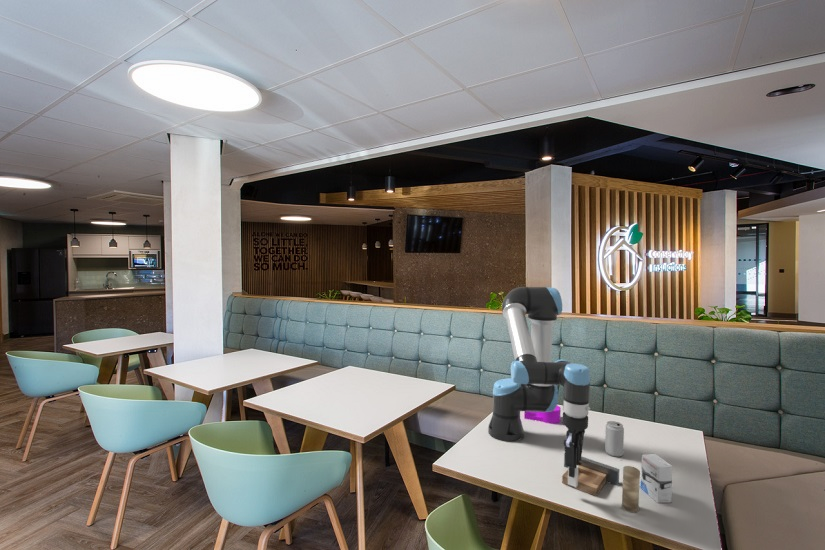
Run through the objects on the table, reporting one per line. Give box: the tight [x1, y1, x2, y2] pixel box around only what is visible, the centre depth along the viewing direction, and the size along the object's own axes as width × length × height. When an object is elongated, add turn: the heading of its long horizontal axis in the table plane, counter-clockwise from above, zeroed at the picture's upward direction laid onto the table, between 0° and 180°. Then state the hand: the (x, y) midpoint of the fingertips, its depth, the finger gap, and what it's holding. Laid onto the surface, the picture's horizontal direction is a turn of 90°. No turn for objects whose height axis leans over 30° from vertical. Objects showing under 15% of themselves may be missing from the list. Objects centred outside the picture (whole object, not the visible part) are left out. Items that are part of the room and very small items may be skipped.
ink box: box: [640, 453, 674, 504], centre depth 127 cm, size 8×5×12 cm, turn 5°
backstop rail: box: [563, 452, 620, 487], centre depth 139 cm, size 18×2×5 cm, turn 49°
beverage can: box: [604, 420, 625, 458], centre depth 154 cm, size 6×6×12 cm
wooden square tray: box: [561, 465, 607, 497], centre depth 134 cm, size 11×11×2 cm
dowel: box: [621, 465, 641, 513], centre depth 121 cm, size 4×4×12 cm
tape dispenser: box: [523, 404, 562, 425], centre depth 188 cm, size 16×10×6 cm, turn 67°
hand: (572, 484), depth 126 cm, fingers closed
